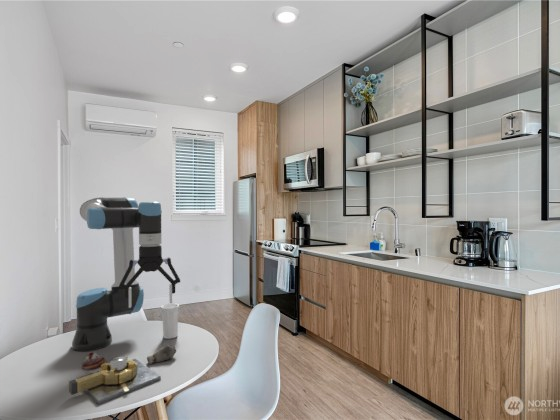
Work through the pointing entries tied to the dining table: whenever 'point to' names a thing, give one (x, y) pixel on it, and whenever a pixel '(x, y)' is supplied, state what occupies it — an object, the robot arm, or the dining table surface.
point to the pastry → (92, 361)
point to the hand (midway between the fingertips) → (150, 304)
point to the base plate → (114, 390)
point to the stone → (162, 354)
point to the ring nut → (104, 377)
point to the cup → (170, 320)
